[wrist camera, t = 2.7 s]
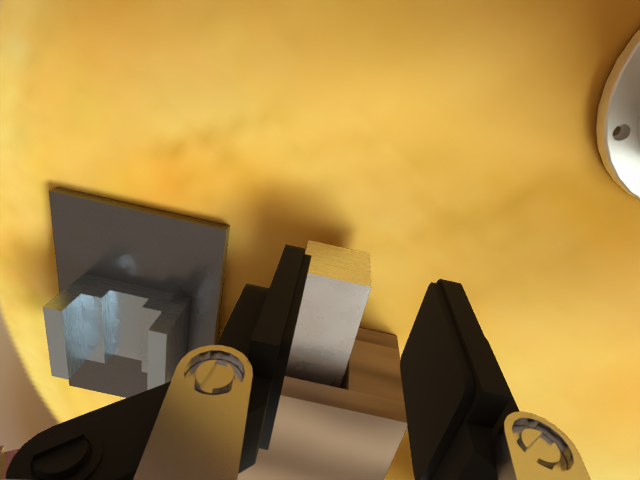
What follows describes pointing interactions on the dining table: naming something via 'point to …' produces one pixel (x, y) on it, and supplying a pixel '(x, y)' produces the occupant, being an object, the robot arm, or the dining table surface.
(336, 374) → the rectangular steel bar
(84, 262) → the v-block
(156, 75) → the dining table surface
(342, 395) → the slotted wooden block
